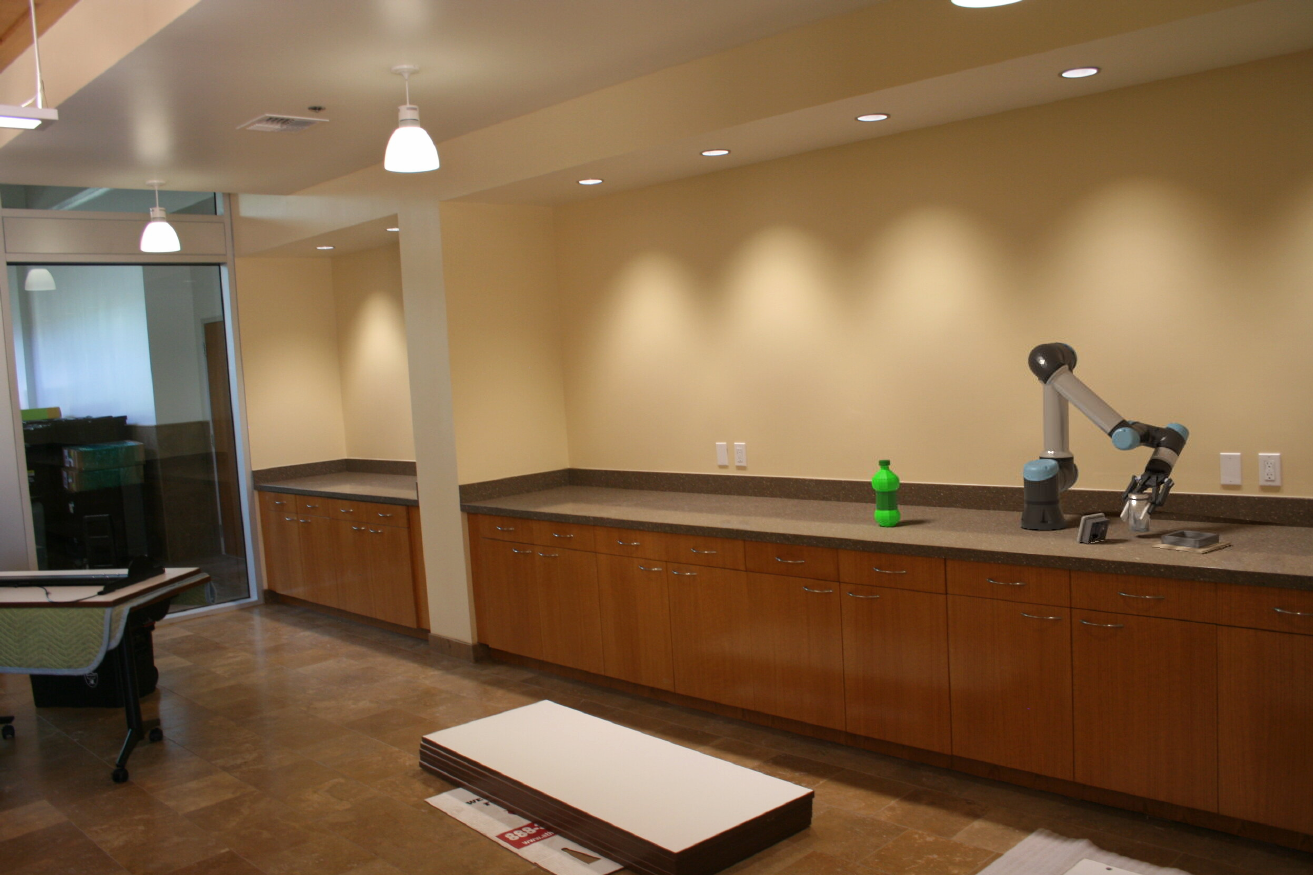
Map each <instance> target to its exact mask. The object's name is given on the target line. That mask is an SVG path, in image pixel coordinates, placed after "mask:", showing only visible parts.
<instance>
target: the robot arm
mask: <svg viewBox="0 0 1313 875" xmlns="http://www.w3.org/2000/svg"><path fill="white" fill-rule="evenodd" d="M1027 364H1028V368H1029V370H1030V371H1031V373H1032V374H1033V375H1035V377H1036V378H1037V379H1038V380H1037V381H1038V382H1039V383H1040V384H1041V385H1042V413H1043V414H1042V415H1043V416H1042V417H1043V418H1042V419H1043V420H1042V421H1043V426H1042V427H1043V428H1042V429H1043V430H1042V433H1043V451H1042V452H1041V453H1039V455H1038V456H1039V458H1038V459H1035V460H1034V459H1033V460H1029V461H1028V462H1026V463H1025V464H1024V465H1023V469H1022V470H1023V471H1022V476H1023V477H1022V478H1023V491H1024V492H1023V493H1024V494H1023V495H1024V507H1023V509H1022V514H1021V518H1020V521H1019V523H1020V524H1019V525H1020V526H1019V527H1020V528H1021V527H1023V528H1022V529H1024V528H1027V529H1026V530H1029V529H1038V530H1037V531H1053V530H1052V529H1057V530H1062V529H1065V528H1066V527H1067V520H1066V518H1065V514H1064V512H1063V510H1062V507H1061V501H1060V500H1061V498H1060V497H1061V496H1060V493H1061V492H1064V491H1065V492H1066V491H1067V490H1069V489H1070V488H1071V487H1073V486H1074V485H1075V484H1076V483H1077V481H1078V478H1079V468H1078V466H1077V464H1076V463H1075V462H1074V461H1075V455H1074V453H1073V452H1071V450H1070V432H1069V431H1070V423H1069V422H1070V418H1069V416H1070V415H1069V414H1070V413H1069V410H1070V407H1069V404H1072V405H1073V407H1075V408H1076V409H1077V410H1078V411H1079V412H1081V413H1082V414H1083V415H1084V416H1085V417H1086V418H1087V419H1088V420H1090V421H1091V422H1092V423H1093V424H1095V425H1096V427H1098V428H1099V430H1101V431H1103V433H1104V434H1106V435H1107V436H1108V437H1109V438H1110V439H1111V442H1112V445H1113V446H1114V448H1116V449H1117V450H1120V451H1131V450H1135V449H1136V448H1138V447H1145V448H1150V449H1154V450H1153V451H1152V453H1151V455H1150V458H1149V460H1148V462H1147V464H1146V465H1145V467H1144V472H1143V473H1142V474H1141V475H1139V476H1136V475H1135V474H1134V475H1132V476H1131V481H1130V482H1129V483H1128V486H1127V487H1126V489H1125V490H1124V492H1123V494H1122V495H1121V500H1122V501H1123V502H1124V503H1123V506H1122V512H1121V514H1120V516H1119V517H1120V519H1121V520H1122V521H1123V522H1127V521H1128V519H1129V501H1128V494H1129V493H1145V491H1148V490H1149V489H1151V496H1150V500H1149V503H1147V505H1146V507H1145V509H1144V511H1143V513H1142V515H1141V517H1140V520H1141V522H1142V523H1143V524H1146V522H1147V520H1148V518H1150V516H1152V515H1153V514H1154V512H1155V510H1156V508H1157V507H1160V508H1162V507H1164V505H1165V504H1166V501H1167V498H1168V496H1169V493H1170V492H1171V489H1172V487H1174V485H1175V482H1174V481H1173V479H1172V478H1171V477H1170V475H1171V474H1172V471H1173V469H1174V467H1175V465H1176V464H1177V461H1178V459H1179V457H1180V455H1181V453H1182V451H1183V449H1184V448H1185V445H1186V444H1187V441H1188V438H1189V436H1190V432H1189V429H1188V428H1187V427H1186V426H1185V425H1183V424H1181V423H1179V422H1178V423H1177V422H1169V423H1168V424H1167V425H1166V426H1165V427H1161V426H1156V425H1151V424H1148V423H1144V422H1140V421H1138V420H1137V421H1135V420H1131V419H1129V420H1126V419H1125V418H1124V416H1122V415H1121V414H1120V413H1119V412H1117V411H1116V410H1115V409H1114V408H1113V407H1111V406H1110V404H1108V403H1107V402H1106V401H1105V400H1103V399H1102V398H1101V397H1100V396H1099V395H1098V394H1097V393H1096V392H1095V391H1093V390H1092V389H1091V388H1090V387H1088V386H1087V384H1085V383H1084V382H1083V381H1082V380H1080V379H1079V378H1078V377H1077V376H1076V375H1075V374H1074V370H1075V368H1076V366H1077V364H1078V354H1077V352H1076V351H1075V349H1074V348H1073V347H1072V346H1071V345H1069V344H1067V343H1064V342H1051V343H1050V342H1049V343H1041V344H1038V345H1037V346H1035V347H1033V349H1032V350H1030V352H1029V355H1028V357H1027ZM1169 477H1170V478H1169ZM1161 487H1162V488H1161ZM1061 528H1062V529H1061Z"/></svg>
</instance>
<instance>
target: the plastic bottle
mask: <svg viewBox="0 0 1313 875" xmlns="http://www.w3.org/2000/svg"><path fill="white" fill-rule="evenodd" d="M879 466H880V469H879V470H878V471H876V473H875V474H874V475H873V476H872V477H871V480H870V481H871V487H872V489H873V490H875V504H876V506H875V508H876V509H875V511H874V514H873V515H874V520H875V521H876V522H877V524H879V525H880V526H881V527H882V528H883V527H884V528H886V527H888V528H891V527H895V526H896V525H898V523H899V522H900V519H901V516H902V515H901V513H900V511H899V508H898V493H897V492H898V489H899V488H900V484H901V483H900V481H901V480H900V478H899V476H898V475H897V474H895V472H893V471H892V470H891V469H890V466H891V460H890V459H879V460H878V467H879Z"/></svg>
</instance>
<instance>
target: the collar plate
mask: <svg viewBox="0 0 1313 875" xmlns="http://www.w3.org/2000/svg"><path fill="white" fill-rule="evenodd" d="M1160 539H1161V540H1159V541H1155V542H1151V543H1149V548H1152V547H1160V548H1169V549H1176V550H1185V551H1193V552H1205V551H1209V550H1213V549H1217V548H1221V547H1224V548H1226V547H1225V546H1227V545H1230V544H1231V545H1232V542H1231V541H1224V540H1220V535H1219V533H1212V532H1211V533H1210V532H1202V531H1193V530H1185V529H1180V530H1178V531H1173V532H1170V533H1166V534H1163V535H1160ZM1231 545H1230V546H1231ZM1227 547H1228V546H1227ZM1160 548H1159V549H1160ZM1221 549H1222V548H1221ZM1217 550H1218V549H1217Z"/></svg>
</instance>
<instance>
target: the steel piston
mask: <svg viewBox="0 0 1313 875" xmlns="http://www.w3.org/2000/svg"><path fill="white" fill-rule="evenodd" d="M1150 500H1151V496H1150V493H1147V492H1143V493H1129V494H1128V501H1129V516H1128V530H1129V531H1130V532H1132V533H1133V532H1134V533H1148V532H1151V531H1150V530H1151V526H1150V525H1151V524H1150V523H1151V522H1150V520H1151V519H1150V517H1149V518H1148V520H1147V522H1146V524H1143V523H1142V522H1141V520H1140V517H1141V515H1142V513H1143V511H1144V509H1145V507H1146V505H1147V503H1150Z"/></svg>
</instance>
